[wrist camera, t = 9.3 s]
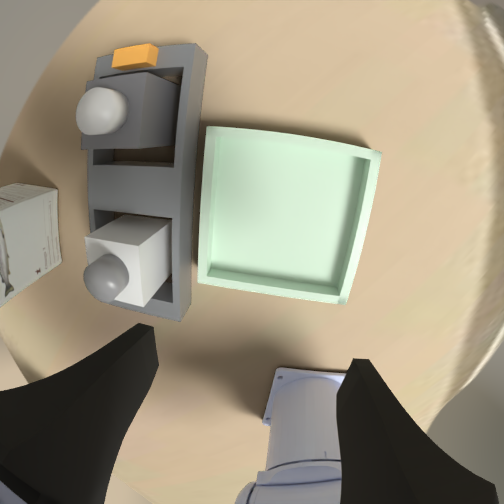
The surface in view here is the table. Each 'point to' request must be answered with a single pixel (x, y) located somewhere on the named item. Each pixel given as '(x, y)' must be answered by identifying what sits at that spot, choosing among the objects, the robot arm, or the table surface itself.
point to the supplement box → (27, 236)
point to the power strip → (155, 169)
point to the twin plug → (128, 259)
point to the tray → (284, 213)
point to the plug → (128, 112)
